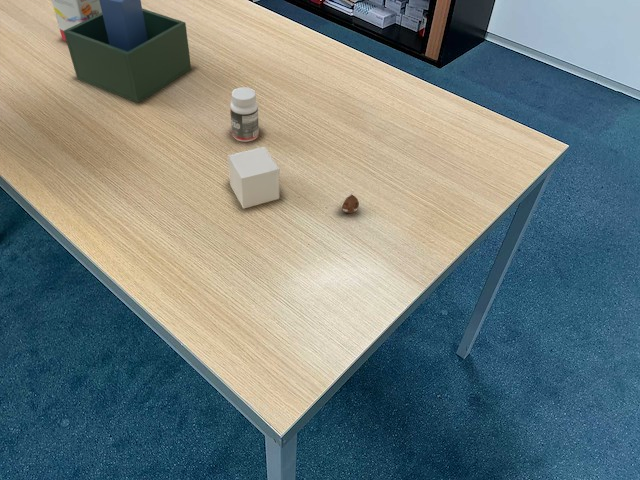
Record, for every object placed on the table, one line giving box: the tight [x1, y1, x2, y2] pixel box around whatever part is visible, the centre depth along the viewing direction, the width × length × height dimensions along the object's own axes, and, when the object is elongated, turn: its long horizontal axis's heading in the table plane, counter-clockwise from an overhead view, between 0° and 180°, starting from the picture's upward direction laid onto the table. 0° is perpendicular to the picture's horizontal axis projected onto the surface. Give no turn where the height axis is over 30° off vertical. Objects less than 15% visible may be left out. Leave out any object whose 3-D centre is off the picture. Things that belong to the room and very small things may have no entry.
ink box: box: [51, 0, 102, 42], centre depth 114 cm, size 9×9×12 cm
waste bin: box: [63, 7, 192, 104], centre depth 106 cm, size 16×16×10 cm
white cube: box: [227, 146, 280, 210], centre depth 84 cm, size 6×6×6 cm
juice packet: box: [99, 0, 148, 52], centre depth 103 cm, size 4×6×15 cm
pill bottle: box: [229, 86, 260, 143], centre depth 94 cm, size 5×5×8 cm
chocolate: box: [340, 189, 360, 214], centre depth 83 cm, size 3×2×4 cm
